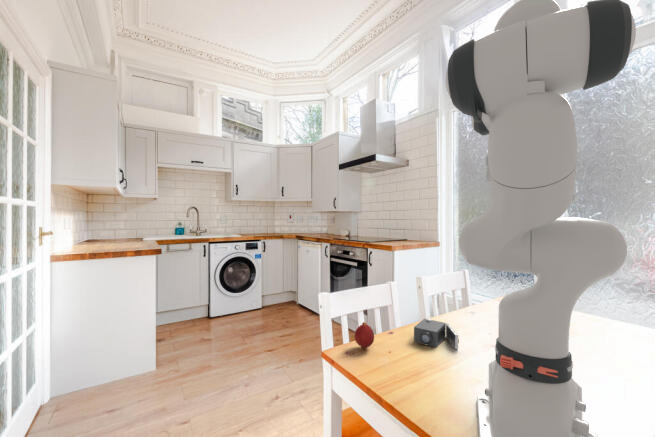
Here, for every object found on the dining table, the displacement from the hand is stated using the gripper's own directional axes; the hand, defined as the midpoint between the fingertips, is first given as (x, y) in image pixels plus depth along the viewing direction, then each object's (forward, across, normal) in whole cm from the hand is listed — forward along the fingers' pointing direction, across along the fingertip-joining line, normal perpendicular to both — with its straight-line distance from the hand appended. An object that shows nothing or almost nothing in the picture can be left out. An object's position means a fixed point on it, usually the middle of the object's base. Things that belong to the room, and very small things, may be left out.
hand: (527, 196), depth 82 cm
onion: (+46, -39, -23) cm, 64 cm away
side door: (+45, -19, -2) cm, 49 cm away
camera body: (+45, -26, -4) cm, 52 cm away
